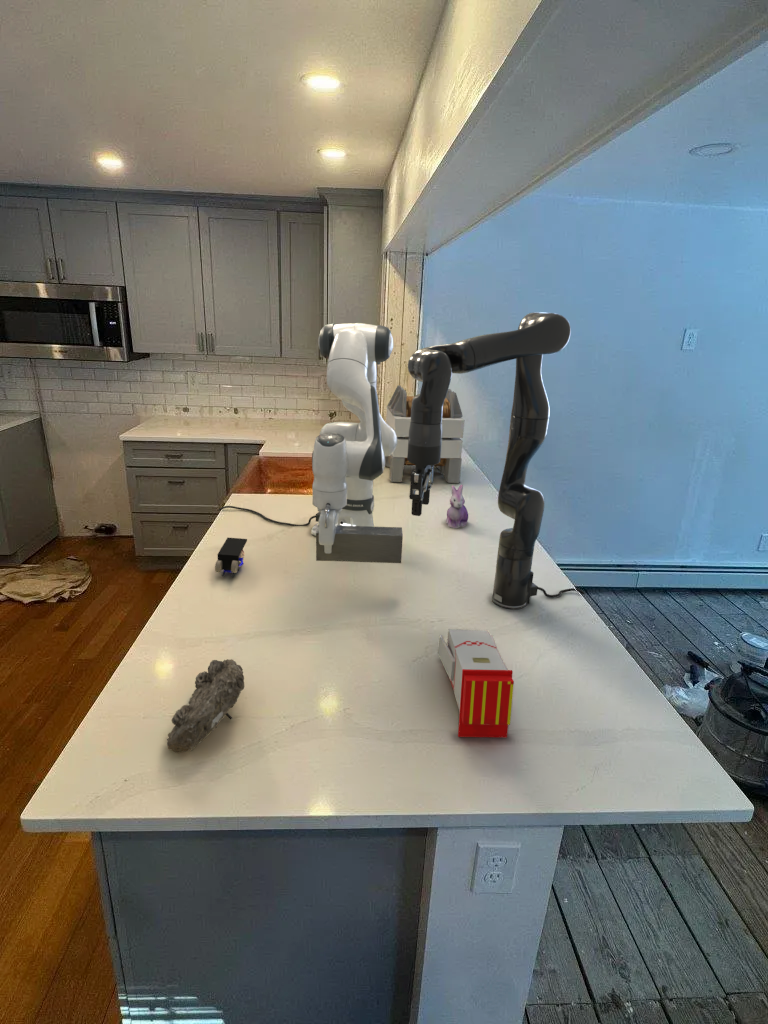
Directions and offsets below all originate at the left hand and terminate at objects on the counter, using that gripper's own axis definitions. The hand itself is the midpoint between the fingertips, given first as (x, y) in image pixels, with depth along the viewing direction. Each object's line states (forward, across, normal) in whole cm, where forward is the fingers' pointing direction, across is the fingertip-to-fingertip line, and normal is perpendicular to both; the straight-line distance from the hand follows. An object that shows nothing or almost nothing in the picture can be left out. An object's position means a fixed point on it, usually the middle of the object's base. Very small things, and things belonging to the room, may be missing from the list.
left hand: (329, 546), depth 150 cm
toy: (+14, -40, -33) cm, 53 cm away
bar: (+3, 0, -8) cm, 8 cm away
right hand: (-16, -12, -22) cm, 30 cm away
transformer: (+17, +127, -33) cm, 132 cm away
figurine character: (+15, +14, +30) cm, 36 cm away
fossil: (+14, -50, +18) cm, 55 cm away
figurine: (+16, +59, -42) cm, 74 cm away
